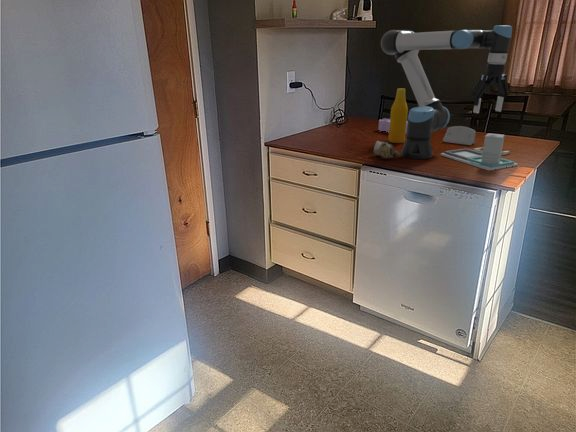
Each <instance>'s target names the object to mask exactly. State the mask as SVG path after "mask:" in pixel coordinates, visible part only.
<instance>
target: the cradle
mask: <svg viewBox="0 0 576 432" xmlns="http://www.w3.org/2000/svg"><path fill="white" fill-rule="evenodd" d="M471 150H474V151H477V152H481V153H483V146H481V147H475V148H471ZM510 152H511V151H510V150H504V151H503V150H502V153H501V156H505V155H510Z"/></svg>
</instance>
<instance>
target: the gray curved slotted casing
mask: <svg viewBox="0 0 576 432" xmlns="http://www.w3.org/2000/svg"><path fill="white" fill-rule="evenodd" d="M476 135H477V132H476V130H475V129H472V128H470V127H468V126H463V125H455V126H453V125H452V126H448V128H447V129H446V133H445V134H444V137H443V138H442V142H444V143H452V144H459V145H467V146H473V145H475V141H476Z"/></svg>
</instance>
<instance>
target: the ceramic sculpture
mask: <svg viewBox="0 0 576 432" xmlns="http://www.w3.org/2000/svg"><path fill="white" fill-rule="evenodd" d="M373 154H374V155H375V156H378V157H381V158H382V159H383V160H388V159H390V158H400V157H404V156H403V155H401V153H400V152H399V151H398V150H396V149H395V146H394V145H393V144H392V143H390V142H389V141H388V140H384V141H379V140H376V142H375V144H374V147H373Z"/></svg>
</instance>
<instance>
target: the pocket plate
mask: <svg viewBox="0 0 576 432" xmlns="http://www.w3.org/2000/svg"><path fill="white" fill-rule="evenodd" d="M440 156H441V157H445V158H447V159H450V160H454V161H457V162H460V163H464V164H467V165H469V166H470V165H471V166H473V167H476V168H479V169H483V170H486V171H488V172H489V171H495V169H496V170H501V169H506V167H507V168H512V166H513V167H518V165H519V163H516V162H515V161H513V160H509V159H507V158H502V157H501V159H500V162H499V163H497V164H488V163H485V162H481V159H482V153H481V152H477V151H474V150H472V149H471V148H460V149H452V150H446V151H444V152H441V153H440Z"/></svg>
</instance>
